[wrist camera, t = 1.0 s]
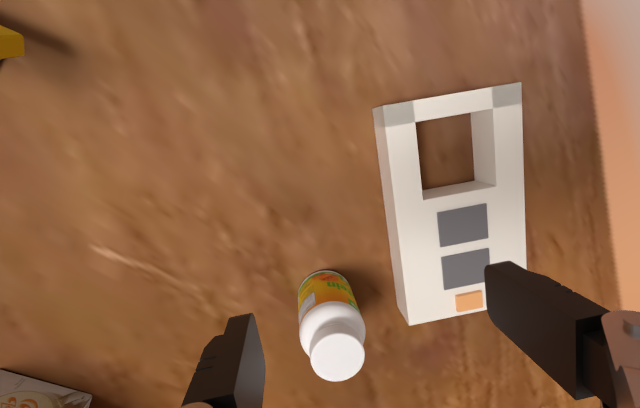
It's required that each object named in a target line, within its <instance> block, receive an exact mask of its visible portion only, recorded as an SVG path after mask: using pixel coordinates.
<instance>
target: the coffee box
mask: <svg viewBox="0 0 640 408" xmlns="http://www.w3.org/2000/svg"><path fill="white" fill-rule="evenodd" d="M91 399H92V395H91V394H87V393H84V392H80V391H77V390H73V389H69V388H65V387H62V386H58V385H55V384H51V383H47V382H44V381H40V380H36V379H33V378H29V377H26V376H22V375H18V374H14V373H11V372H7V371H4V370H0V408H89V405H90V402H91Z"/></svg>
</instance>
